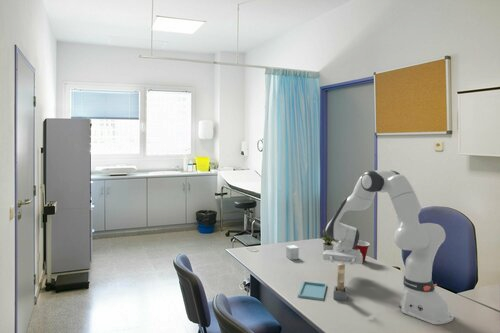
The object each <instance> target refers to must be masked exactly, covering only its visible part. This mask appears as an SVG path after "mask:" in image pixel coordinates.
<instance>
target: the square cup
mask: <svg viewBox="0 0 500 333" xmlns="http://www.w3.org/2000/svg"><path fill="white" fill-rule="evenodd" d="M333 300H337V301H345V302H347V300H348V287H347V286H346V287H345V286H344V291H337V285H334V286H333Z"/></svg>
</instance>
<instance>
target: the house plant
mask: <svg viewBox="0 0 500 333" xmlns="http://www.w3.org/2000/svg"><path fill="white" fill-rule="evenodd" d="M319 233H320V234H321V235H322V236H323V237H319V239H320V240H323V241H324V242H323V243H322V246H323V252H324V251H326V250H333V251H334V245H335V244H334V242H338V240H337V239H333V238H329V237H328V236H327V234H326V230H324V229H322V232H319Z"/></svg>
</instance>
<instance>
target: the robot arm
mask: <svg viewBox="0 0 500 333" xmlns="http://www.w3.org/2000/svg"><path fill="white" fill-rule="evenodd" d="M376 193H387V194H388V196H389V197H390V200H391V203H392V205H393V209H394V211H395V214H396V218H397V228H396V230H395V232H394V234H393V239H394V243H395V244H396V246H397V247H398V248H399V249H400V250H404V251H411V253H410V254H409V255H408V256H407V257H406V259H405V262H404V263H405V264H404V265H405V267H404V268H405V269H404V271H405V272H404V275H403V290H402V291H403V293H402V297H401V300H400V303H399V304H400V305H399V307H400V312H401V313H402V314H406V315H408V316H410V317H413V318H415V319H419V320H422V321H424V322H427V323H429V324H432V325H445V324H448V323H450V322H452V321H454V314H453V313H451V312H449V307H448V303H447V301H446V300H445V299H444V298H443V296H441V295H440V294H439V293H438V292H437V290H436V287H437V285H438V284H437V283H435V284H434V280H432V278H433V277H432V273H433V265H434V260H435V258H436V257H435V256H436V255H437V252H438V250H439V248H440V246H441V245H442V244H443V243H444V242H445V240H446V231H445V229H444V227H443V226H442V225H440V224H438V223H433V222H425V223H424V222H423V223H420V220H419V214H420V213H421V211H422V206H421V204H420V200H419V199H418V197H417V194H416V192H415V190H414V188H413V187H412V184H411V183H410V181H409V180H408V178H407V177H406V176H405V175H404V174H400V172H398V171H395V170H387V169H386V170H384V169H379V170H378V169H377V170H368V171H366V172H364V173H363V174H362V175H360V177H359V178H358V180H357V182H356V184H355V185H354V189H353V191H352V193H351V194H350V195H349V196H347V197H344V198H343V199H342V201H341V202H340V203H339V206H338V207H337V209H336V211H335V213H334V214H333V216H332V218H331V219H330V220H329V222H328V223H327V224H326V227H325V233H326V236H328V237H329V238H332V239H335V240H337V243H336V245H335V246H336V247H335V250H334V249H333V250H326V251H324V250H323V252H322V259H323V260H324V261H330V263H335V262H339V263H345V264H346V263H347V264H349V265H355V264H357V265H362V264H363V263H364V262H363V256H362V253H361V252H360V250H359V249H356V248H355V247H356V246H357V244H358V241H359V240H360V231H359V229H358V228H356V227H354V226H351V225H348V224H346V223H344V222H343V223H342V222H340V220H341V219H342V217H343V215H344V213H346V212H349V211H364V210H367V209H368V208H370V207H371V205H372V204H373V201H374V198H375V196H376Z"/></svg>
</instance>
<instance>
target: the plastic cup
mask: <svg viewBox="0 0 500 333" xmlns="http://www.w3.org/2000/svg"><path fill="white" fill-rule="evenodd" d="M369 246H370V242H368V241H365V240H360V239H359V241H358V244H357V246H356V247H355V248H356V249H359V250H360V252H361V253H362V256H363V262H362V263H365V261H366V257H367V253H368V249H369Z"/></svg>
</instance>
